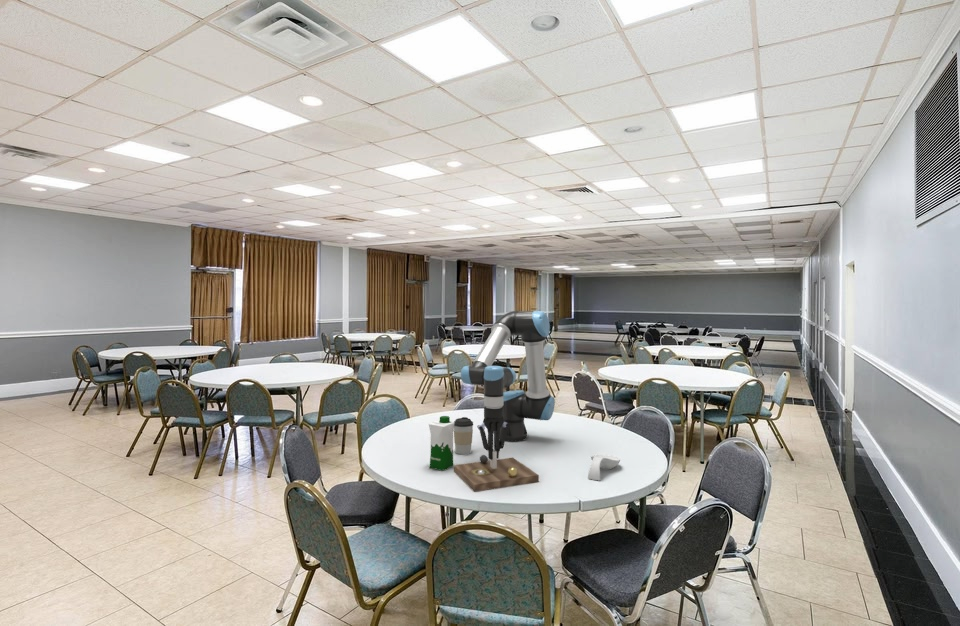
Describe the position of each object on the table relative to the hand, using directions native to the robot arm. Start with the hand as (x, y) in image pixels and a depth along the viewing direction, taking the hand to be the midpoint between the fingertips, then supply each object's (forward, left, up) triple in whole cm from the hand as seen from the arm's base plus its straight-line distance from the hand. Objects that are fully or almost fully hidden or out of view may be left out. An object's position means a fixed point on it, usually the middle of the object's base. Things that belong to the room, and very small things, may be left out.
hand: (493, 467), depth 185 cm
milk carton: (+15, -18, -4) cm, 24 cm away
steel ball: (+5, 0, -2) cm, 6 cm away
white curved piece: (-43, +10, -4) cm, 44 cm away
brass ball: (-4, +9, +1) cm, 10 cm away
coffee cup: (0, -33, -4) cm, 33 cm away
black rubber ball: (0, -9, 0) cm, 9 cm away
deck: (-1, 0, -4) cm, 4 cm away
